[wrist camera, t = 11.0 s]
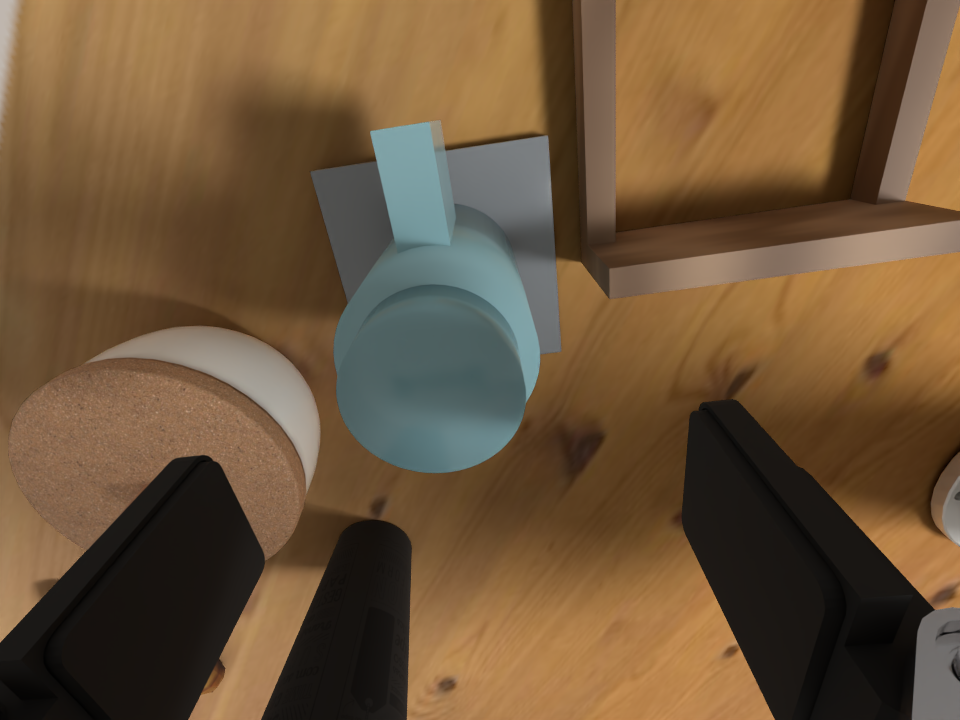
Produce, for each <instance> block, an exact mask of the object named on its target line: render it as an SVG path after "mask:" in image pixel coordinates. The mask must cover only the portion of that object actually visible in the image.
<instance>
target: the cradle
mask: <svg viewBox="0 0 960 720" xmlns="http://www.w3.org/2000/svg"><path fill="white" fill-rule="evenodd" d="M959 6H960V0H895V3H894V8H893V12H892V16H891V21H890V25H889V30H888V34H887V38H886V43H885V47H884V52H883V56H882V61H881V65H880V69H879V74H878V78H877V83H876V87H875V91H874V96H873V100H872V105H871V109H870V114H869V118H868V122H867V127H866V131H865V136H864V140H863V144H862V149H861V153H860V158H859V162H858V166H857V171H856V175H855V180H854V184H853V189H852V193H851V197H850V199H848V200H841V201H834V202H827V203H820V204H813V205H806V206H799V207H792V208H785V209H778V210H771V211H764V212H757V213H749V214H742V215H735V216H728V217H721V218H714V219H707V220H700V221H693V222H686V223H679V224H672V225H665V226H658V227H651V228H644V229H636V230H629V231H622V232H616V0H572V7H573V35H574V64H575V92H576V121H577V150H578V178H579V207H580V235H581V263H582V264H583V265H584V267H585V268H586V269H587V270H588V272H589V273H590V274H591V276H592V277H593V278H594V280H595V281H596V282H597V283H598V285H599V286H600V287H601V289H602V290H603V291H604V293H605V294H606V295H607V296H608V298H609V299H615V298H622V297H630V296H637V295H644V294H652V293H659V292H667V291H674V290H681V289H689V288H696V287H704V286H711V285H718V284H726V283H733V282H741V281H748V280H755V279H763V278H770V277H778V276H785V275H792V274H800V273H807V272H814V271H822V270H829V269H837V268H844V267H851V266H859V265H866V264H874V263H881V262H888V261H896V260H903V259H911V258H918V257H925V256H933V255H940V254H948V253H955V252H960V211H955V210H950V209H945V208H940V207H935V206H929V205H924V204H919V203H914V202H909V201H905V199H906V195H907V192H908V188H909V185H910V181H911V178H912V174H913V170H914V167H915V163H916V160H917V156H918V153H919V149H920V145H921V142H922V138H923V135H924V131H925V128H926V124H927V120H928V117H929V113H930V110H931V106H932V103H933V99H934V95H935V92H936V88H937V85H938V81H939V78H940V74H941V70H942V67H943V63H944V60H945V56H946V53H947V49H948V45H949V42H950V38H951V35H952V31H953V28H954V24H955V20H956V17H957V13H958V10H959Z"/></svg>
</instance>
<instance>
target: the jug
mask: <svg viewBox="0 0 960 720" xmlns="http://www.w3.org/2000/svg"><path fill="white" fill-rule="evenodd" d="M370 134H371V138H372V142H373V147H374V151H375V156H376V160H377V164H378V169H379V173H380V178H381V182H382V186H383V191H384V195H385V200H386V204H387V209H388V213H389V217H390V222H391V226H392V231H393V235H394V236H393V237H392V239H391V240H390V242H389V243H388V245H387V246H386V248H385V249H384V251H383V252H382V254H381V255H380V257H379V258H378V260H377V261H376V263H375V264H374V266H373V267H372V269H371V270H370V272H369V273H368V275H367V276H366V278H365V279H364V281H363V282H362V284H361V285H360V287H359V288H358V290H357V291H356V293H355V294H354V296H353V297H352V299H351V300H350V302H349V303H348V305H347V306H346V308H345V310H344V312H343V313H342V315H341V317H340V320H339V323H338V325H337V328H336V333H335V338H334V352H333V353H334V363H335V368H336V372H337V376H338V377H337V385H336V395H337V403H338V407H339V410H340V413H341V416H342V418H343V420H344V422H345V424H346V426H347V428H348V429H349V431H350V432H351V433H352V435H353V436H354V437H355V439H356V440H357V441H358V442H359V443H360V444H361V445H362V446H363V447H364V448H366V449H367V450H368V451H370V452H371V453H372V454H374V455H375V456H377V457H378V458H380V459H382V460H384V461H386V462H388V463H390V464H392V465H395V466H398V467H400V468H403V469H407V470H411V471H417V472H424V473H447V472H454V471H459V470H463V469H467V468H470V467H472V466H475V465H477V464H480V463H482V462H484V461H486V460H487V459H489V458H491V457H492V456H494V455H495V454H496V453H498V452H499V451H500V450H501V449H502V448H503V447H505V446H506V444H507V443H508V442H509V441H510V440H511V439H512V437H513V436H514V434H515V433H516V431H517V430H518V428H519V425H520V423H521V421H522V418H523V415H524V411H525V405H526V402H527V400H528V399H529V397H530V395H531V393H532V391H533V389H534V387H535V384H536V381H537V377H538V374H539V366H540V348H539V342H538V336H537V333H536V329H535V326H534V322H533V319H532V315H531V312H530V308H529V304H528V301H527V297H526V294H525V290H524V287H523V283H522V279H521V276H520V272H519V269H518V265H517V262H516V258H515V255H514V251H513V248H512V245H511V243H510V241H509V239H508V237H507V236H506V234H505V232H504V231H503V230H502V228H501V227H500V226H499V225H498V224H497V223H496V222H495V221H494V220H493V219H492V218H490V217H489V216H487V215H486V214H484V213H483V212H481V211H479V210H477V209H474V208H471V207H468V206H465V205H459V204H454V201H453V195H452V189H451V183H450V177H449V170H448V164H447V158H446V152H445V145H444V139H443V133H442V127H441V121H440V120H437V121H430V122H424V123H418V124H412V125H405V126H399V127H393V128H387V129H381V130H374V131H370Z"/></svg>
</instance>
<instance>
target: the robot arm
mask: <svg viewBox="0 0 960 720" xmlns="http://www.w3.org/2000/svg"><path fill="white" fill-rule="evenodd" d="M931 515H932V518H933V520H934V522H935V525H936V526H937V527H938V528H939V529H940V530H941V532H942V533H943V534H944V535H946V536H947V537H948V538H949V539H950V540H951V541H953V542H954V543H955V544H957V545H958V546H959V547H960V451H959V452H958V454H957V455H956V456H955V457H954V458H953V459H952V460H951V461H950V463H949V464H948V465H947V467H946V468H945V469H944V471H943V472H942V474H941V475H940V478H939V480H938V482H937V484H936V486H935V488H934V491H933V496H932V500H931ZM682 524H683V528H684V531H685V534H686V537H687V539H688V541H689V543H690V545H691V547H692V549H693V551H694V553H695V555H696V557H697V559H698V561H699V563H700V566H701V568H702V570H703V572H704V574H705V576H706V578H707V580H708V582H709V584H710V586H711V588H712V590H713V592H714V595H715V597H716V599H717V601H718V603H719V605H720V607H721V609H722V611H723V613H724V615H725V617H726V619H727V621H728V624H729V626H730V628H731V630H732V632H733V634H734V636H735V638H736V640H737V642H738V644H739V646H740V648H741V650H742V653H743V655H744V657H745V659H746V661H747V663H748V665H749V667H750V669H751V671H752V673H753V675H754V677H755V679H756V682H757V684H758V686H759V688H760V690H761V692H762V694H763V696H764V698H765V700H766V702H767V704H768V706H769V708H770V711H771V713H772V715H773V717H774V718H775V720H960V608H953V607H952V608H946V609H939V610H935V609H934V608H933V607H932V606H931V605H930V604H929V603H928V602H927V601H926V600H925V599H924V597H923V596H922V595H921V594H920V593H919V592H918V591H917V590H916V589H915V588H914V587H913V586H912V584H911V583H910V582H909V581H908V580H907V579H906V578H905V577H904V576H903V575H902V574H901V573H900V571H899V570H898V569H897V568H896V567H895V566H894V565H893V564H892V563H891V562H890V561H889V559H888V558H887V557H886V556H885V555H884V554H883V553H882V552H881V551H880V550H879V549H878V548H877V546H876V545H875V544H874V543H873V542H872V541H871V540H870V539H869V538H868V537H867V536H866V535H865V533H864V532H863V531H862V530H861V529H860V528H859V527H858V526H857V525H856V524H855V523H854V521H853V520H852V519H851V518H850V517H849V516H848V515H847V514H846V513H845V512H844V511H843V510H842V508H841V507H840V506H839V505H838V504H837V503H836V502H835V501H834V500H833V499H832V498H831V497H830V495H829V494H828V493H827V492H826V491H825V490H824V489H823V488H822V487H821V486H820V485H819V483H818V482H817V481H816V480H815V479H814V478H813V477H812V476H811V475H810V474H809V473H808V472H807V471H805V470H804V469H803V468H800V467H798V466H796V464H795V463H794V462H793V461H792V460H791V459H790V458H789V457H788V456H787V455H786V453H785V452H784V451H783V450H782V449H781V448H780V447H779V446H778V445H777V443H776V442H775V441H774V440H773V439H772V438H771V437H770V436H769V435H768V434H767V432H766V431H765V430H764V429H763V428H762V427H761V426H760V425H759V424H758V422H757V421H756V420H755V419H754V418H753V417H752V416H751V415H750V414H749V413H748V411H747V410H746V409H745V408H744V407H743V406H742V405H741V404H740V403H739V402H738V401H737V400H734V399H731V400H721V401H712V402H703V403H702V404H701V405H700V407H699V411H693V412H691V414H690V419H689V432H688V444H687V456H686V469H685V481H684V493H683V506H682ZM264 564H265V555H264V552H263V550H262V548H261V546H260V544H259V542H258V539H257V537H256V535H255V533H254V531H253V529H252V527H251V525H250V523H249V521H248V519H247V517H246V515H245V513H244V511H243V509H242V507H241V505H240V503H239V501H238V499H237V497H236V495H235V493H234V491H233V489H232V487H231V485H230V483H229V481H228V479H227V477H226V475H225V473H224V471H223V469H222V467H221V465H220V464H219V463H218V462H216V461H213V459H212V458H211V457H209V456H207V455H198V456H188V457H179V458H175V459H173V460H172V461H171V462H169V463H168V465H167V466H166V467H165V468H164V469H163V470H162V471H161V472H160V473H159V474H158V475H157V476H156V477H155V478H154V479H153V481H152V482H151V483H150V484H149V485H148V486H147V487H146V488H145V489H144V490H143V491H142V492H141V493H140V494H139V495H138V497H137V498H136V499H135V500H134V501H133V502H132V503H131V504H130V505H129V506H128V507H127V508H126V509H125V510H124V511H123V513H122V514H121V515H120V516H119V517H118V518H117V519H116V520H115V521H114V522H113V523H112V524H111V525H110V526H109V527H108V529H107V530H106V531H105V532H104V533H103V534H102V535H101V536H100V537H99V538H98V539H97V540H96V541H95V542H94V543H93V544H92V546H91V547H90V548H89V549H88V550H87V551H86V552H85V553H84V554H83V555H82V556H81V557H80V558H79V559H78V560H77V562H76V563H75V564H74V565H73V566H72V567H71V568H70V569H69V570H68V571H67V572H66V573H65V574H64V575H63V576H62V578H61V579H60V580H59V581H58V582H57V583H56V584H55V585H54V586H53V587H52V588H51V589H50V590H49V591H48V592H47V594H46V595H45V596H44V597H43V598H42V599H41V600H40V601H39V602H38V603H37V604H36V605H35V606H34V607H33V608H32V610H31V611H30V612H29V613H28V614H27V615H26V616H25V617H24V618H23V619H22V620H21V621H20V622H19V623H18V624H17V625H16V627H15V628H14V629H13V630H12V631H11V632H10V633H9V634H8V635H7V636H6V637H5V638H4V639H3V640H2V641H1V643H0V720H188V719H189V717H190V715H191V713H192V711H193V709H194V707H195V705H196V703H197V701H198V699H199V697H200V695H201V693H202V691H203V689H204V687H205V685H206V683H207V681H208V679H209V677H210V675H211V673H212V671H213V669H214V667H215V665H216V663H217V661H218V659H219V657H220V655H221V653H222V651H223V649H224V647H225V645H226V643H227V641H228V639H229V637H230V635H231V633H232V631H233V629H234V627H235V625H236V623H237V621H238V619H239V617H240V615H241V613H242V611H243V609H244V607H245V605H246V603H247V601H248V599H249V597H250V595H251V593H252V591H253V590H254V588H255V586H256V584H257V582H258V580H259V578H260V576H261V574H262V571H263V569H264Z"/></svg>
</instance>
